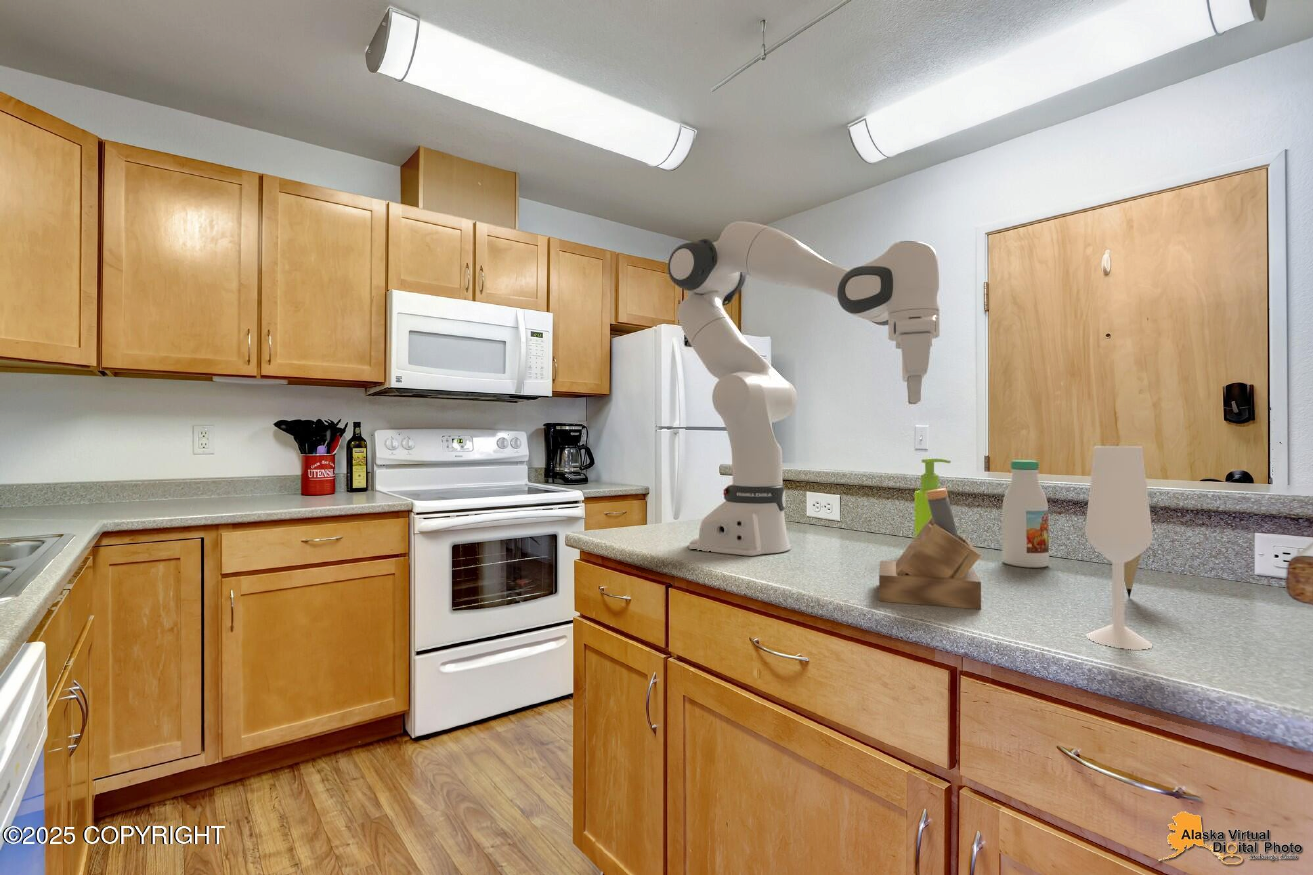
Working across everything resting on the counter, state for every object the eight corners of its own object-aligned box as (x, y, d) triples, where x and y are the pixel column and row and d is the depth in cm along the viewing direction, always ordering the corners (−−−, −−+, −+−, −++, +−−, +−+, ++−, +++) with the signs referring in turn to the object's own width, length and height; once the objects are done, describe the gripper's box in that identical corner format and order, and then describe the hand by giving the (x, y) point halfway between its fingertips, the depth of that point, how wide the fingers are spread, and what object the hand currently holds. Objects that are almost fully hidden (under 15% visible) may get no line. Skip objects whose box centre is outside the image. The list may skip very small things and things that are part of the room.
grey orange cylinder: (941, 556, 96) (925, 493, 97) (940, 552, 99) (924, 491, 100) (963, 553, 95) (947, 489, 96) (961, 549, 98) (945, 487, 99)
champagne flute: (1093, 628, 82) (1093, 445, 81) (1158, 640, 77) (1158, 446, 76) (1078, 640, 77) (1077, 447, 77) (1146, 654, 72) (1145, 447, 72)
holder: (879, 601, 96) (878, 523, 96) (880, 584, 106) (879, 513, 106) (982, 609, 91) (981, 527, 91) (972, 590, 101) (972, 517, 101)
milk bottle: (1009, 567, 117) (1008, 461, 117) (997, 559, 125) (996, 459, 124) (1055, 569, 115) (1055, 461, 115) (1040, 560, 123) (1039, 459, 122)
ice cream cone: (1097, 595, 97) (1097, 499, 97) (1121, 591, 99) (1121, 497, 99) (1136, 604, 92) (1136, 503, 92) (1161, 600, 94) (1161, 501, 94)
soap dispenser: (954, 557, 127) (953, 459, 126) (918, 556, 128) (917, 459, 128) (946, 552, 132) (946, 458, 132) (912, 551, 134) (911, 458, 133)
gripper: (894, 337, 127) (895, 405, 127) (896, 321, 108) (896, 401, 108) (928, 335, 125) (929, 404, 125) (935, 319, 105) (936, 400, 106)
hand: (914, 403), depth 116 cm, fingers open, 8 cm apart
